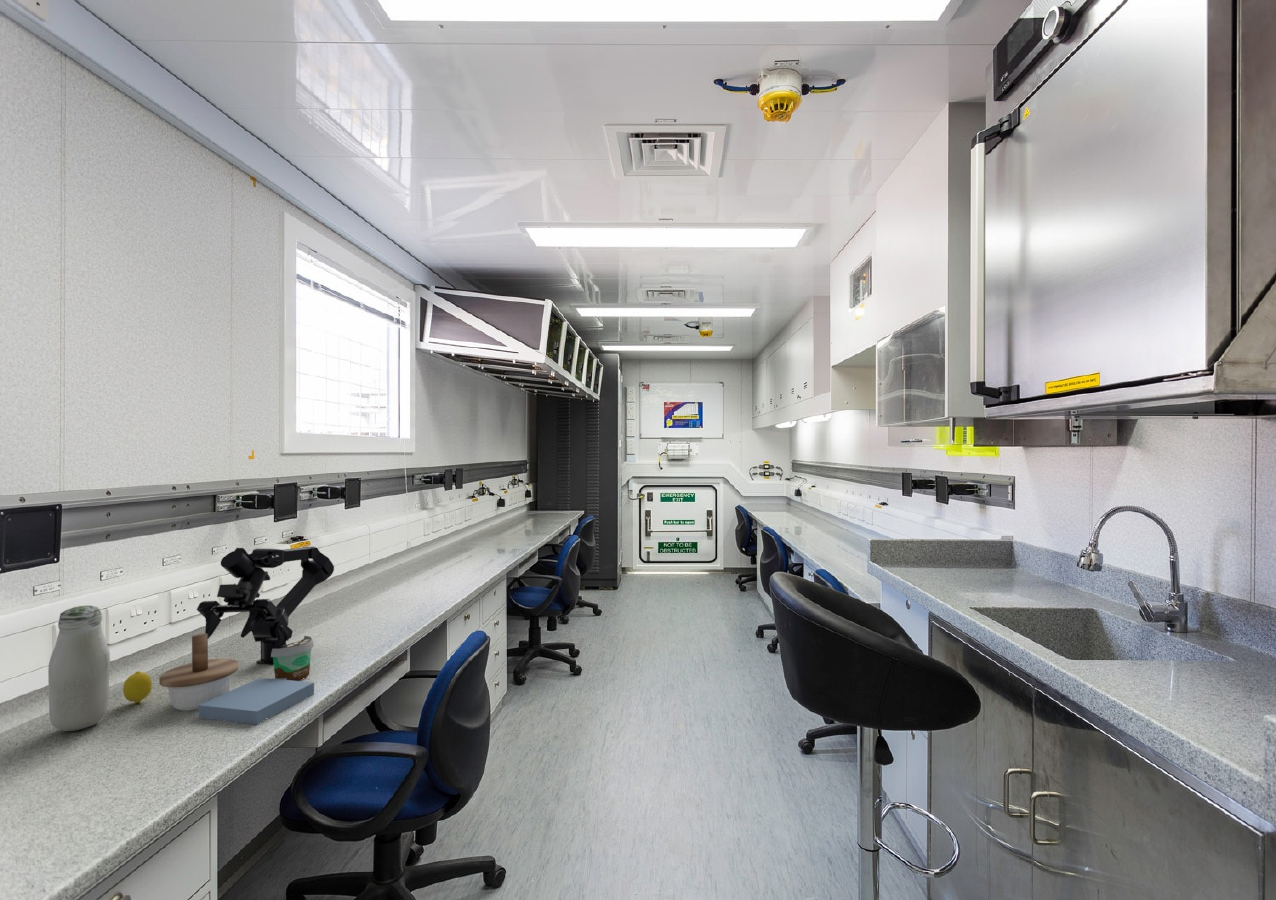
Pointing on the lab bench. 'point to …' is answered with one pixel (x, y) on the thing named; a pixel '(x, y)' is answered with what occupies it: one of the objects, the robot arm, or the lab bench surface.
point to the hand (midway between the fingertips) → (224, 637)
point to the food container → (293, 660)
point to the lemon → (137, 687)
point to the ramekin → (198, 693)
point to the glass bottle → (79, 670)
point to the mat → (256, 700)
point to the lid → (198, 667)
